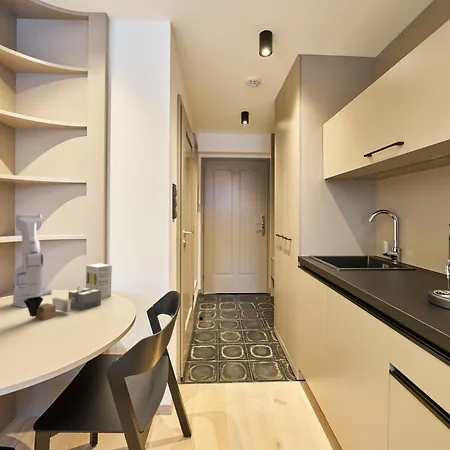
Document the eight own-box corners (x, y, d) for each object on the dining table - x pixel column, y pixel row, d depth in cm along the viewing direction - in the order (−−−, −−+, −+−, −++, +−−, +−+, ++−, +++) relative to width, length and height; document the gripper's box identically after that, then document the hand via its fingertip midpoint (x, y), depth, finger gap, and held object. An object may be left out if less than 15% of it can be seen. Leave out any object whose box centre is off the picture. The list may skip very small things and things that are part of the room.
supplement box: (84, 296, 166) (85, 265, 165) (99, 293, 174) (100, 263, 173) (97, 299, 161) (97, 266, 161) (111, 295, 169) (112, 264, 169)
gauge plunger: (67, 312, 136) (67, 291, 136) (52, 308, 141) (52, 288, 141) (87, 306, 146) (88, 287, 146) (73, 302, 150) (73, 284, 150)
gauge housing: (83, 310, 144) (83, 294, 143) (68, 306, 148) (68, 291, 148) (100, 304, 153) (101, 289, 152) (86, 301, 157) (86, 287, 157)
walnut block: (35, 317, 132) (35, 306, 132) (46, 314, 136) (46, 303, 136) (44, 320, 129) (44, 308, 129) (55, 316, 134) (55, 305, 134)
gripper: (20, 287, 119) (20, 322, 120) (56, 280, 132) (56, 312, 133) (10, 285, 123) (9, 319, 123) (45, 278, 136) (45, 310, 136)
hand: (33, 316), depth 128 cm, fingers closed
